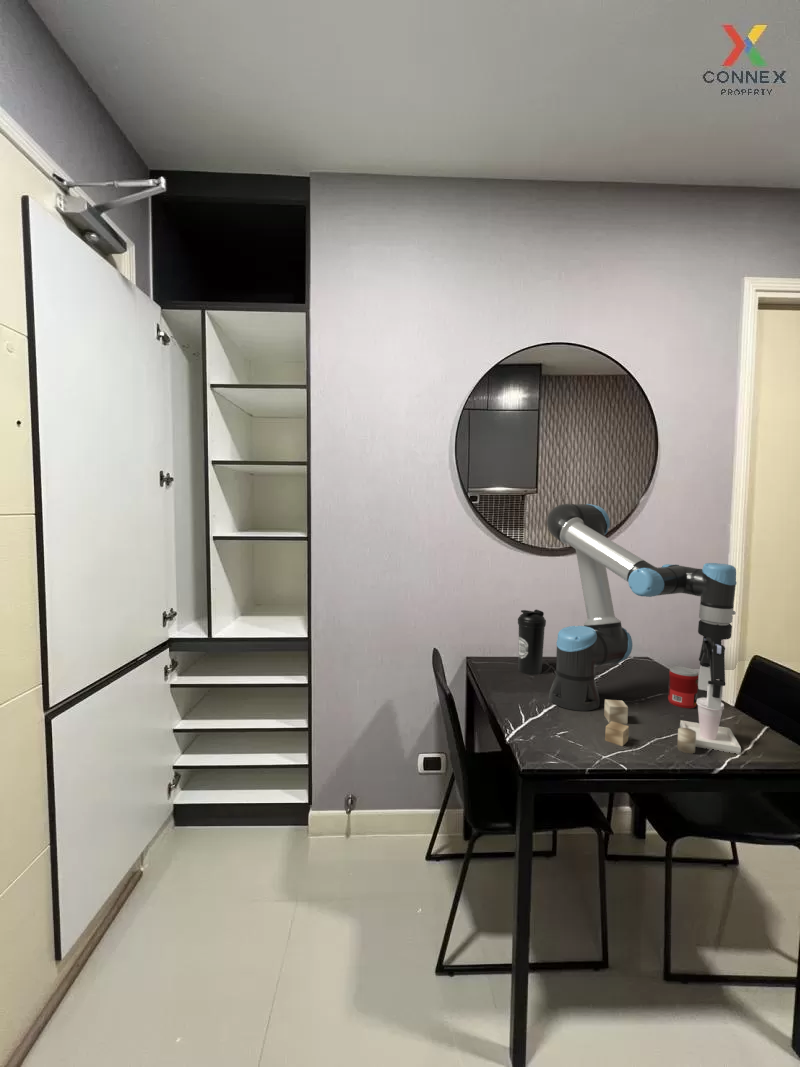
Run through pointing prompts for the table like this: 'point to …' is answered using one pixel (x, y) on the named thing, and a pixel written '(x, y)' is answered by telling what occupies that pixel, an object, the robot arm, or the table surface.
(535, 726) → the table surface
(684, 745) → the birch dowel
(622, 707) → the birch cube
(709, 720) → the smoothie
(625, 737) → the oak block
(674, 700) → the canned food
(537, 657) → the water bottle
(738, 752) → the tray
